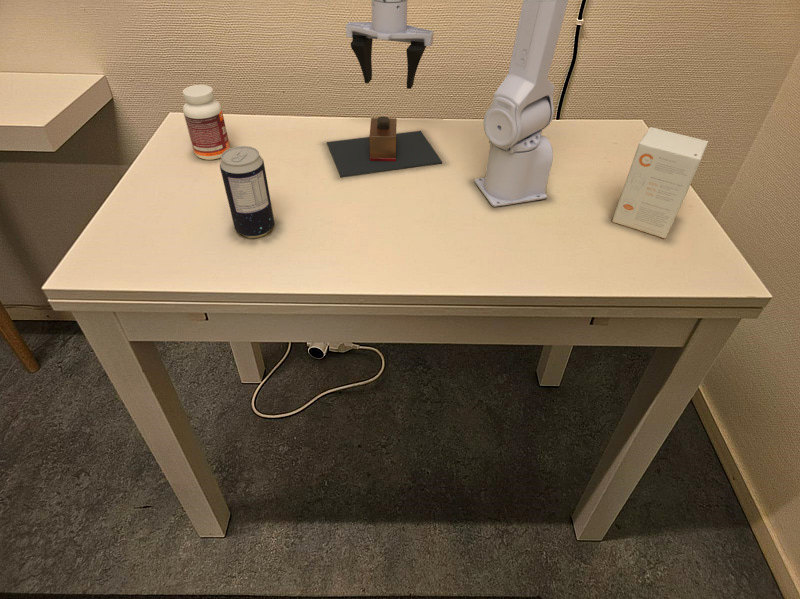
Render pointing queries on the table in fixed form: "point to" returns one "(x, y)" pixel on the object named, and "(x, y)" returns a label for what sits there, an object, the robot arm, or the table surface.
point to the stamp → (383, 139)
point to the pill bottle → (205, 122)
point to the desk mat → (356, 161)
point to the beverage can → (247, 191)
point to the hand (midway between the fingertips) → (389, 83)
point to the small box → (658, 181)
